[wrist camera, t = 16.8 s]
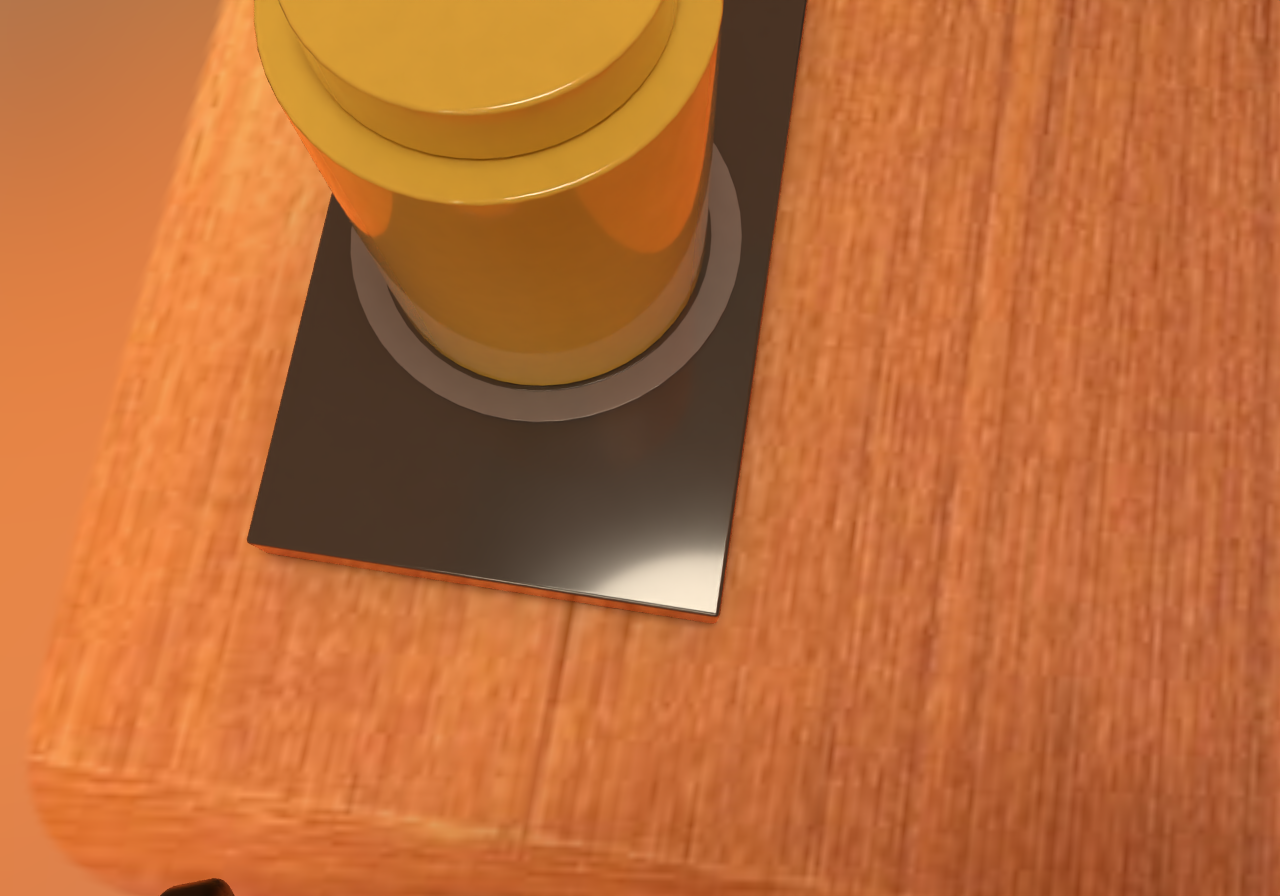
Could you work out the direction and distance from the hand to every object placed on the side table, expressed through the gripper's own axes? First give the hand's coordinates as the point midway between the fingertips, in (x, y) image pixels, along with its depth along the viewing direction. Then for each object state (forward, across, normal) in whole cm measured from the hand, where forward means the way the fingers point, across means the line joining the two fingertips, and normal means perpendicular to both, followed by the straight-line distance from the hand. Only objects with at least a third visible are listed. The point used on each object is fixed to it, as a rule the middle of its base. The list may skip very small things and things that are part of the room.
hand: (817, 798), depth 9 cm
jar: (+16, +2, +1) cm, 16 cm away
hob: (+17, +2, +2) cm, 17 cm away
